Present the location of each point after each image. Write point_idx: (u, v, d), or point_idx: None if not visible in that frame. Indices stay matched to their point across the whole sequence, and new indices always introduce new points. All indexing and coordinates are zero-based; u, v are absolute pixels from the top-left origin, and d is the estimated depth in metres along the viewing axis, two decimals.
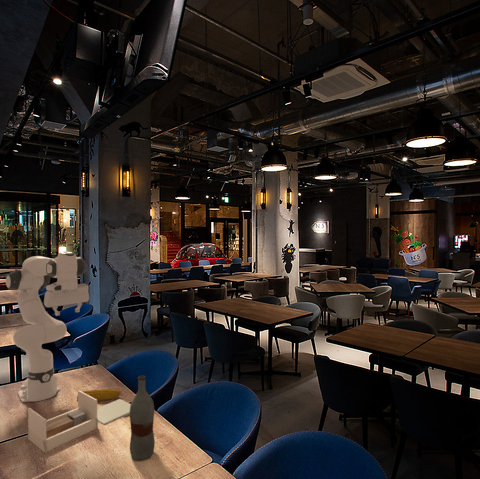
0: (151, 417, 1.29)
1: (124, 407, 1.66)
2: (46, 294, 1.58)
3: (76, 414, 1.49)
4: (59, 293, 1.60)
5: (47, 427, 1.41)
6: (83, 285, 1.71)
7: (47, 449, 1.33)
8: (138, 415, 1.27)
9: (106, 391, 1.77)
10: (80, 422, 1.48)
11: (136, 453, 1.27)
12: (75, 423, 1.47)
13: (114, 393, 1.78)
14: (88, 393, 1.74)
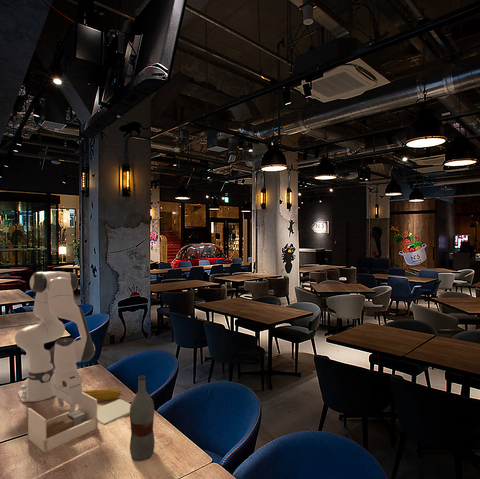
0: (151, 417, 1.29)
1: (124, 407, 1.66)
2: (75, 390, 1.40)
3: (76, 414, 1.49)
4: None
5: (47, 427, 1.41)
6: None
7: (47, 449, 1.33)
8: (138, 415, 1.27)
9: (106, 391, 1.77)
10: (80, 422, 1.48)
11: (136, 453, 1.27)
12: (75, 423, 1.47)
13: (114, 393, 1.77)
14: (88, 393, 1.74)
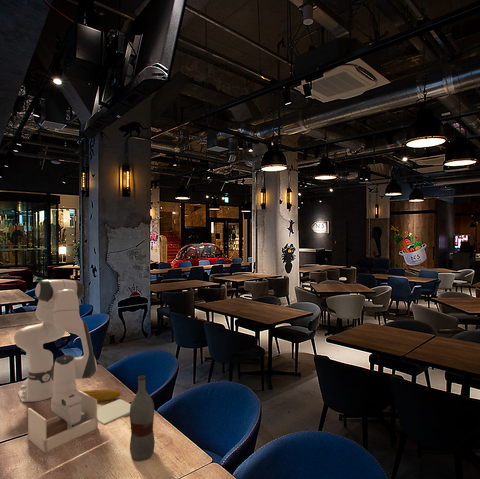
0: (151, 417, 1.29)
1: (124, 407, 1.66)
2: (74, 409, 1.40)
3: None
4: None
5: (47, 427, 1.41)
6: None
7: (47, 449, 1.33)
8: (138, 415, 1.27)
9: (106, 391, 1.77)
10: (80, 422, 1.48)
11: (136, 453, 1.27)
12: (75, 423, 1.47)
13: (114, 394, 1.77)
14: (88, 393, 1.74)
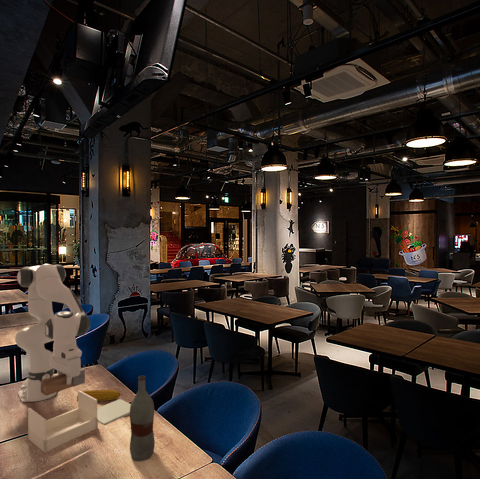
0: (151, 417, 1.29)
1: (124, 407, 1.66)
2: (74, 362, 1.40)
3: None
4: None
5: (47, 380, 1.41)
6: None
7: (47, 449, 1.33)
8: (138, 415, 1.27)
9: (106, 392, 1.76)
10: (80, 377, 1.49)
11: (136, 453, 1.27)
12: (75, 378, 1.47)
13: (113, 394, 1.76)
14: (88, 393, 1.74)
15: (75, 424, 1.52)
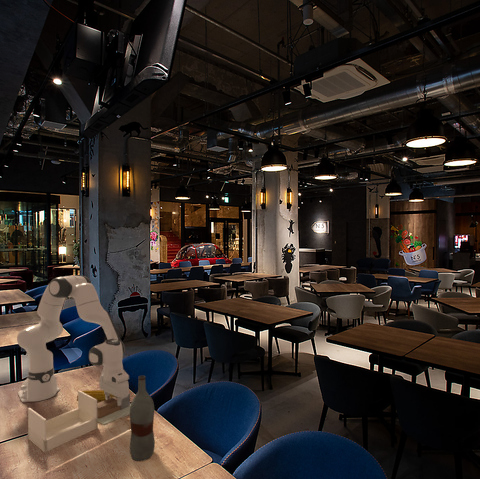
0: (151, 417, 1.30)
1: None
2: (123, 386, 1.58)
3: None
4: None
5: (99, 404, 1.59)
6: None
7: (47, 449, 1.33)
8: (138, 415, 1.27)
9: None
10: (126, 401, 1.66)
11: (136, 453, 1.27)
12: (122, 402, 1.65)
13: (113, 395, 1.75)
14: (87, 393, 1.74)
15: (75, 424, 1.52)
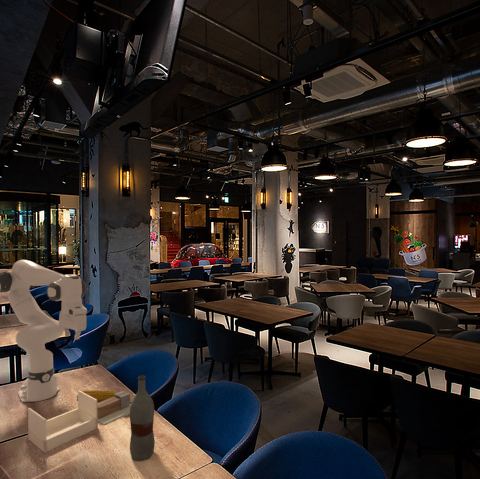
0: (151, 417, 1.29)
1: None
2: (80, 318, 1.56)
3: (122, 394, 1.67)
4: None
5: (99, 404, 1.59)
6: None
7: (47, 449, 1.33)
8: (138, 415, 1.27)
9: (105, 393, 1.75)
10: (126, 401, 1.66)
11: (136, 453, 1.27)
12: (122, 402, 1.65)
13: (112, 395, 1.75)
14: (87, 393, 1.74)
15: (75, 424, 1.52)
